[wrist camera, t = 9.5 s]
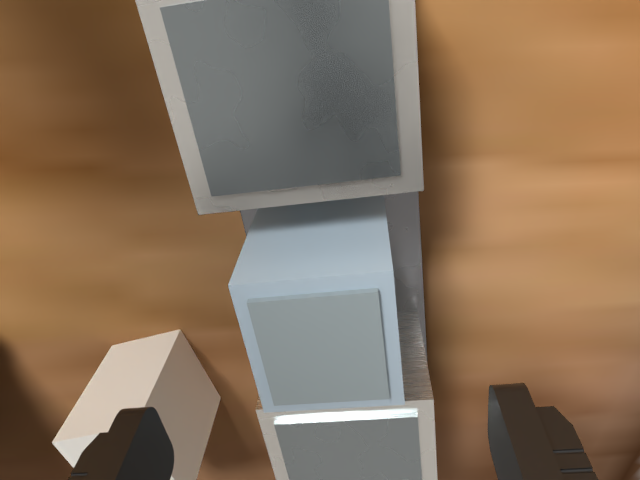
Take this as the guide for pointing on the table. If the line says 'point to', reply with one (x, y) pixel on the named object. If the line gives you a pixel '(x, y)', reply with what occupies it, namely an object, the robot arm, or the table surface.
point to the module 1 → (147, 398)
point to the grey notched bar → (311, 176)
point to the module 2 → (320, 306)
